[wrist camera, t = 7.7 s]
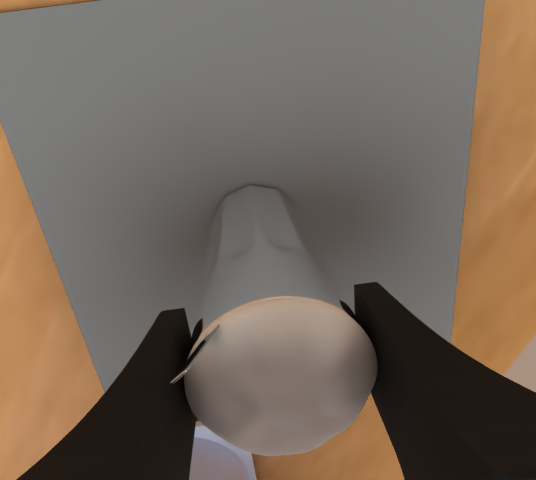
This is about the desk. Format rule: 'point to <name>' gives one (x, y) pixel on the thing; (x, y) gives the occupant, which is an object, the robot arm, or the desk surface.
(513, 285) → the desk surface
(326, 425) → the milkshake
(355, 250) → the mat
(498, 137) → the desk surface
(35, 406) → the desk surface
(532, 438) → the robot arm
